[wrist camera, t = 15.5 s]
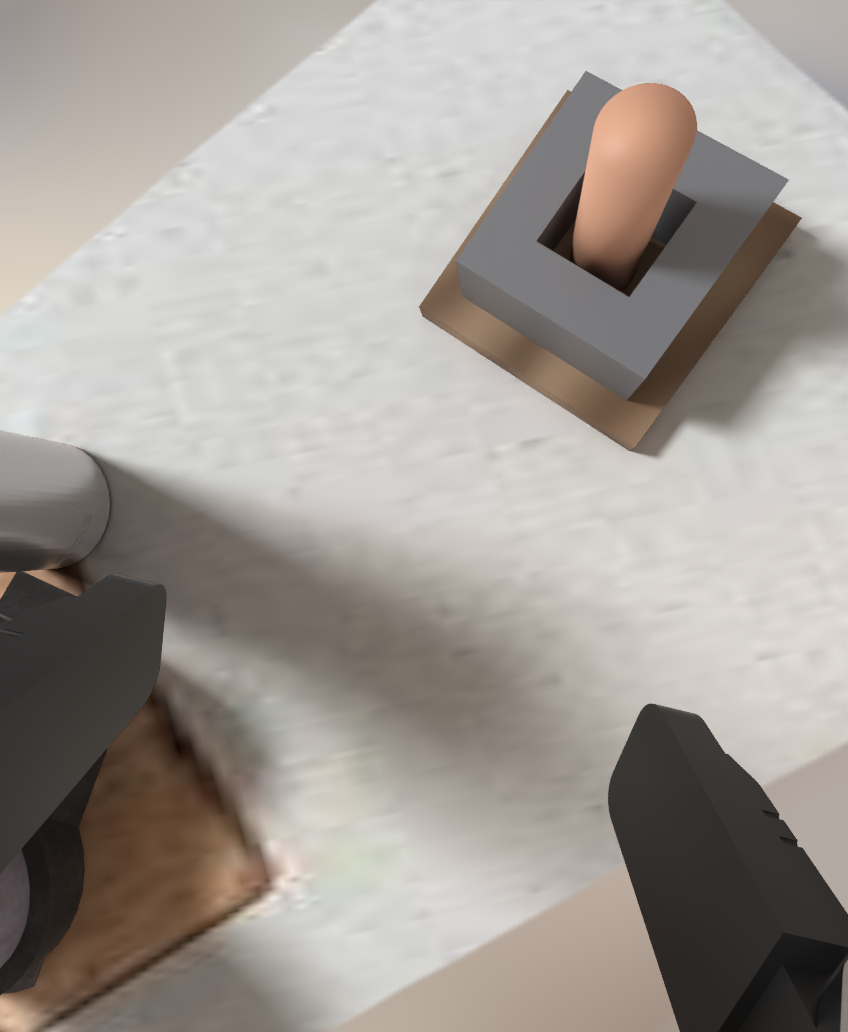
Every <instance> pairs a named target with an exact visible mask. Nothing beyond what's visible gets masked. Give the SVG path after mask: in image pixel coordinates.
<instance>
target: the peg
mask: <svg viewBox="0 0 848 1032" xmlns="http://www.w3.org/2000/svg"><path fill="white" fill-rule="evenodd" d="M696 132H697V121H696V115H695V112H694V110H693V107H692V105H691V104H690V102H689V101H688V100H687V98H686V97H685V96H684V95H682V94H681V93H680V92H679V91H677V90H675V89H674V88H671V87H669V86H666V85H662V84H656V83H646V84H639V85H635V86H632V87H629V88H627V89H625V90H623V91H621V92H619V93H618V94H616V95H615V96H614V97H612V98H611V99H610V100H609V101H608V102H607V103H606V104H605V106H604V107H603V108H602V110H601V111H600V113H599V115H598V117H597V119H596V121H595V125H594V129H593V134H592V139H591V145H590V150H589V155H588V160H587V166H586V171H585V176H584V181H583V186H582V192H581V197H580V202H579V207H578V212H577V218H576V223H575V228H574V233H573V239H572V244H571V249H570V254H569V259H568V261H570V262H572V263H573V264H575V265H577V266H578V267H580V268H582V269H583V270H585V271H587V272H588V273H590V274H591V275H593V276H595V277H596V278H598V279H600V280H601V281H603V282H605V283H606V284H608V285H610V286H611V287H613V288H615V289H616V290H618V291H620V292H621V291H622V290H623V289H625V288H626V287H627V286H628V284H629V283H630V282H631V280H632V278H633V276H634V274H635V272H636V269H637V267H638V265H639V263H640V261H641V258H642V256H643V254H644V252H645V250H646V247H647V245H648V243H649V241H650V239H651V236H652V234H653V232H654V230H655V227H656V225H657V223H658V221H659V219H660V216H661V214H662V212H663V210H664V208H665V205H666V203H667V201H668V199H669V197H670V194H671V192H672V190H673V188H674V186H675V183H676V181H677V179H678V177H679V175H680V172H681V170H682V168H683V166H684V164H685V161H686V159H687V157H688V155H689V152H690V150H691V148H692V146H693V144H694V141H695V137H696Z"/></svg>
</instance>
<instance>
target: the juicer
mask: <svg viewBox="0 0 848 1032" xmlns="http://www.w3.org/2000/svg"><path fill="white" fill-rule="evenodd" d="M65 596H73V597H77V596H74V595H72V594H70V593H68V592H66V591H64V590H61V589H59V588H57V587H55V586H53V585H51V584H48V583H46V582H44V581H42V580H40V579H38V578H35V577H33V576H31V575H29V574H27V573H25V572H22V571H17V572H16V574H15V576H14V577H13V579H12V581H11V582H10V584H9V586H8V587H7V589H6V591H5V592H4V594H3V596H2V598H1V599H0V627H1V626H3V625H4V624H6V623H7V622H9V621H11V620H12V619H14V618H15V617H17V616H18V615H20V614H22V613H23V612H25V611H26V610H28V609H29V608H32V607H35V606H38V605H41V604H44V603H47V602H50V601H53V600H56V599H59V598H62V597H65ZM106 751H107V749H106V750H105V751H104V752H103V754H102V755H101V756H100V757H99V758H98V759H97V761H96V762H95V763H94V764H93V765H92V767H91V768H90V769H89V770H88V771H87V772H86V774H85V775H84V776H83V777H82V778H81V779H80V781H79V782H78V783H77V784H76V785H75V787H74V788H73V789H72V790H71V791H70V792H69V794H68V795H67V796H66V797H65V798H64V799H63V801H62V802H61V803H60V804H59V805H58V807H57V808H56V809H55V810H54V811H53V812H52V814H51V815H50V816H49V817H48V818H47V819H46V821H45V822H44V823H43V824H42V825H41V827H40V828H39V829H38V830H37V831H36V832H35V834H34V835H33V836H32V837H31V838H30V839H29V841H28V842H27V843H26V844H25V845H24V847H23V848H22V849H21V850H20V851H19V852H18V854H17V855H16V856H15V857H14V858H13V859H12V861H11V862H10V863H9V864H8V865H7V867H6V868H5V869H4V870H3V871H2V872H1V874H0V995H1V994H3V993H12V992H18V991H21V990H24V989H27V988H31V987H34V985H35V983H36V980H37V977H38V975H39V972H40V969H41V966H42V964H43V961H44V958H45V956H46V955H47V954H48V953H49V952H50V951H51V950H52V949H53V948H54V947H55V946H56V945H57V944H58V943H59V942H60V941H61V939H62V938H63V936H64V935H65V933H66V932H67V931H68V929H69V928H70V925H71V923H72V921H73V919H74V916H75V914H76V912H77V910H78V906H79V902H80V898H81V894H82V891H83V880H84V854H83V846H82V841H81V837H80V833H79V828H78V827H79V824H80V822H81V819H82V816H83V813H84V811H85V808H86V805H87V803H88V800H89V797H90V794H91V792H92V789H93V786H94V784H95V781H96V778H97V776H98V773H99V770H100V767H101V765H102V762H103V759H104V757H105V754H106Z"/></svg>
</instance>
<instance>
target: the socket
mask: <svg viewBox="0 0 848 1032" xmlns="http://www.w3.org/2000/svg"><path fill="white" fill-rule="evenodd" d="M621 91H623V90H621V89H619V88H617V87H615V86H613V85H611V84H610V83H608V82H606V81H604V80H602V79H600V78H598V77H596V76H595V75H593V74H591V73H589V72H587V71H585V73H584V74H583V76H582V77H581V79H580V80H579V82H578V83H577V85H576V86H575V87H574V89H573V90H572V92H571V93H570V95H569V96H568V98H567V99H566V101H565V102H564V103H563V105H562V106H561V108H560V109H559V111H558V112H557V114H556V115H555V117H554V118H553V120H552V121H551V122H550V124H549V125H548V127H547V128H546V130H545V131H544V133H543V134H542V136H541V137H540V138H539V140H538V141H537V143H536V144H535V146H534V147H533V149H532V150H531V152H530V153H529V155H528V156H527V157H526V159H525V160H524V162H523V163H522V165H521V166H520V168H519V169H518V171H517V172H516V173H515V175H514V176H513V178H512V179H511V181H510V182H509V184H508V185H507V187H506V188H505V190H504V191H503V192H502V194H501V195H500V197H499V198H498V200H497V201H496V203H495V204H494V206H493V207H492V208H491V210H490V211H489V213H488V214H487V216H486V217H485V219H484V220H483V222H482V223H481V225H480V226H479V227H478V229H477V230H476V232H475V233H474V235H473V236H472V238H471V239H470V241H469V242H468V243H467V245H466V246H465V248H464V249H463V251H462V252H461V254H460V255H459V257H458V258H457V260H456V265H457V270H458V275H459V280H460V285H461V290H462V296H463V297H464V298H466V299H467V300H469V301H470V302H472V303H473V304H475V305H477V306H478V307H480V308H481V309H483V310H484V311H486V312H488V313H489V314H491V315H492V316H494V317H495V318H497V319H499V320H500V321H502V322H503V323H505V324H506V325H508V326H510V327H511V328H513V329H514V330H516V331H517V332H519V333H521V334H522V335H524V336H525V337H527V338H528V339H530V340H532V341H533V342H535V343H536V344H538V345H539V346H541V347H543V348H544V349H546V350H547V351H549V352H550V353H552V354H554V355H555V356H557V357H558V358H560V359H561V360H563V361H565V362H566V363H568V364H569V365H571V366H572V367H574V368H576V369H577V370H579V371H580V372H582V373H583V374H585V375H587V376H588V377H590V378H591V379H593V380H594V381H596V382H598V383H599V384H601V385H602V386H604V387H605V388H607V389H609V390H610V391H612V392H613V393H615V394H617V395H618V396H620V397H621V398H623V399H624V400H626V401H627V399H628V398H629V397H630V396H631V395H632V394H633V392H634V391H635V390H636V389H637V388H638V387H639V385H640V384H641V383H642V382H643V381H644V380H645V378H646V377H647V376H648V374H649V373H650V372H651V370H652V369H653V367H654V366H655V365H656V363H657V362H658V360H659V359H660V358H661V356H662V355H663V354H664V352H665V351H666V349H667V348H668V347H669V345H670V344H671V342H672V341H673V340H674V338H675V337H676V336H677V334H678V333H679V331H680V330H681V329H682V327H683V326H684V324H685V323H686V322H687V320H688V319H689V318H690V316H691V315H692V313H693V312H694V311H695V309H696V308H697V306H698V305H699V304H700V302H701V301H702V300H703V298H704V297H705V295H706V294H707V293H708V291H709V290H710V289H711V287H712V286H713V284H714V283H715V282H716V280H717V279H718V277H719V276H720V275H721V273H722V272H723V271H724V269H725V268H726V266H727V265H728V264H729V262H730V261H731V259H732V258H733V257H734V255H735V254H736V253H737V251H738V250H739V248H740V247H741V246H742V244H743V243H744V241H745V240H746V239H747V237H748V236H749V235H750V233H751V232H752V230H753V229H754V228H755V226H756V225H757V223H758V222H759V221H760V219H761V218H762V217H763V215H764V214H765V212H766V211H767V210H768V208H769V207H770V205H771V204H772V203H773V201H774V200H775V199H776V197H777V196H778V194H779V193H780V192H781V190H782V189H783V188H784V186H785V185H786V183H787V182H788V181H789V180H788V179H787V178H785V177H783V176H781V175H779V174H777V173H775V172H774V171H772V170H770V169H768V168H766V167H764V166H762V165H760V164H759V163H757V162H755V161H753V160H751V159H749V158H747V157H746V156H744V155H742V154H740V153H738V152H736V151H734V150H733V149H731V148H729V147H727V146H725V145H723V144H721V143H719V142H718V141H716V140H714V139H712V138H710V137H708V136H706V135H705V134H703V133H701V132H699V131H697V132H696V137H695V141H694V144H693V146H692V148H691V150H690V152H689V155H688V157H687V159H686V161H685V164H684V166H683V168H682V170H681V172H680V175H679V177H678V179H677V181H676V183H675V186H674V188H673V190H672V192H671V194H670V197H669V199H668V201H667V203H666V205H665V208H664V210H663V212H662V214H661V216H660V219H659V221H658V223H657V225H656V227H655V230H654V232H653V234H652V236H651V237H652V238H654V239H656V240H658V241H659V242H661V243H663V244H665V245H666V246H665V248H664V249H663V251H662V252H661V253H660V255H659V256H658V258H657V259H656V261H655V262H654V263H653V265H652V266H651V268H650V269H649V270H648V272H647V273H646V275H645V276H644V277H643V279H642V280H641V282H640V283H639V284H638V286H637V287H636V289H635V290H634V291H633V293H632V294H631V296H630V297H628V296H626V295H625V294H623V293H621V292H620V291H618V290H616V289H615V288H613V287H611V286H610V285H608V284H606V283H605V282H603V281H601V280H600V279H598V278H596V277H595V276H593V275H591V274H590V273H588V272H587V271H585V270H583V269H582V268H580V267H578V266H577V265H575V264H573V263H572V262H570V261H568V260H567V259H565V258H563V257H562V256H560V255H558V254H557V253H555V252H553V251H554V249H555V248H556V246H557V245H558V243H559V242H560V241H561V239H562V238H563V236H564V235H565V233H566V232H567V231H568V229H569V228H570V226H571V225H572V223H573V222H574V221H575V219H576V218H577V212H578V207H579V202H580V197H581V192H582V186H583V181H584V176H585V171H586V166H587V160H588V155H589V150H590V145H591V139H592V134H593V129H594V125H595V121H596V119H597V117H598V115H599V113H600V111H601V110H602V108H603V107H604V106H605V104H606V103H607V102H608V101H609V100H610V99H611V98H612V97H614V96H615V95H616V94H618V93H619V92H621Z"/></svg>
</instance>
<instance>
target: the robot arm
mask: <svg viewBox="0 0 848 1032" xmlns="http://www.w3.org/2000/svg"><path fill="white" fill-rule="evenodd" d="M109 510H110V497H109V489H108V486H107V482H106V479H105V477H104V475H103V473H102V471H101V469H100V467H99V466H98V465H97V464H96V462H95V461H94V460H93V459H92V458H91V457H90V456H89V455H87V454H86V453H85V452H84V451H82V450H80V449H78V448H76V447H73V446H71V445H66V444H62V443H57V442H52V441H47V440H43V439H38V438H33V437H29V436H24V435H20V434H15V433H10V432H5V431H1V430H0V573H1V572H17V571H31V570H44V569H58V568H62V567H67V566H70V565H72V564H74V563H76V562H78V561H80V560H82V559H83V558H84V557H86V556H87V555H88V554H89V553H90V552H91V551H92V550H93V549H94V548H95V546H96V545H97V544H98V543H99V541H100V539H101V537H102V535H103V533H104V531H105V528H106V525H107V522H108V519H109ZM165 609H166V590H165V588H164V586H163V585H161V584H157V583H153V582H149V581H145V580H140V579H136V578H132V577H128V576H124V575H120V574H111V575H109V576H107V577H106V578H104V579H103V580H101V581H100V582H98V583H97V584H96V585H94V586H93V587H91V588H90V589H88V590H87V591H85V592H84V593H82V594H81V595H79V596H78V597H73V596H65V597H62V598H59V599H56V600H53V601H50V602H47V603H44V604H41V605H38V606H35V607H32V608H29V609H28V610H26V611H25V612H23V613H22V614H20V615H18V616H17V617H15V618H14V619H12V620H11V621H9V622H7V623H6V624H4V625H3V626H1V627H0V874H1V872H2V871H3V870H4V869H5V868H6V867H7V865H8V864H9V863H10V862H11V861H12V859H13V858H14V857H15V856H16V855H17V854H18V852H19V851H20V850H21V849H22V848H23V847H24V845H25V844H26V843H27V842H28V841H29V839H30V838H31V837H32V836H33V835H34V834H35V832H36V831H37V830H38V829H39V828H40V827H41V825H42V824H43V823H44V822H45V821H46V819H47V818H48V817H49V816H50V815H51V814H52V812H53V811H54V810H55V809H56V808H57V807H58V805H59V804H60V803H61V802H62V801H63V799H64V798H65V797H66V796H67V795H68V794H69V792H70V791H71V790H72V789H73V788H74V787H75V785H76V784H77V783H78V782H79V781H80V779H81V778H82V777H83V776H84V775H85V774H86V772H87V771H88V770H89V769H90V768H91V767H92V765H93V764H94V763H95V762H96V761H97V759H98V758H99V757H100V756H101V755H102V754H103V752H104V751H105V750H106V749H107V748H108V747H109V745H110V744H111V743H112V742H113V741H114V739H115V738H116V737H117V736H118V735H119V734H120V732H121V731H122V730H123V729H124V728H125V727H126V725H127V724H128V723H129V722H130V721H131V719H132V718H133V717H134V716H135V715H136V714H137V712H138V711H139V710H140V709H141V708H142V706H143V705H144V704H145V702H146V701H147V699H148V698H149V696H150V694H151V692H152V690H153V688H154V685H155V683H156V680H157V677H158V674H159V669H160V662H161V652H162V641H163V631H164V620H165ZM608 805H609V813H610V817H611V820H612V823H613V827H614V830H615V833H616V836H617V839H618V842H619V845H620V848H621V851H622V854H623V857H624V860H625V864H626V867H627V870H628V872H629V876H630V879H631V882H632V885H633V888H634V891H635V894H636V897H637V901H638V904H639V907H640V910H641V913H642V915H643V919H644V922H645V925H646V928H647V931H648V934H649V938H650V941H651V944H652V947H653V950H654V953H655V956H656V959H657V962H658V965H659V968H660V971H661V975H662V978H663V981H664V984H665V987H666V990H667V993H668V996H669V999H670V1002H671V1005H672V1008H673V1012H674V1015H675V1018H676V1021H677V1024H678V1027H679V1030H680V1032H848V914H847V912H846V911H845V910H844V908H843V907H842V905H841V904H840V902H839V901H838V899H837V898H836V896H835V895H834V893H833V892H832V890H831V889H830V888H829V886H828V885H827V883H826V882H825V880H824V879H823V877H822V876H821V875H820V873H819V871H818V870H817V869H816V867H815V866H814V864H813V863H812V861H811V860H810V858H809V857H808V855H807V854H806V852H805V851H804V849H803V848H801V847H798V846H797V839H796V838H795V836H794V835H793V833H792V832H791V830H790V829H789V828H788V826H787V825H786V823H785V822H784V821H783V820H780V819H779V813H778V811H777V810H776V808H775V807H774V805H773V804H772V802H771V801H770V800H769V798H768V797H767V795H766V794H765V792H764V791H763V789H762V788H761V786H760V785H759V783H758V782H757V781H756V780H755V779H754V778H752V777H751V776H750V775H749V774H748V773H747V772H746V771H745V770H744V769H743V768H742V767H741V766H740V765H739V764H738V763H737V762H736V761H735V760H734V759H733V758H731V757H730V756H729V755H728V754H725V753H724V751H723V750H722V748H721V746H720V745H719V743H718V742H717V740H716V739H715V737H714V736H713V734H712V733H711V731H710V730H709V728H708V726H707V725H706V723H705V722H704V720H703V719H702V718H701V717H700V716H699V715H697V714H693V713H689V712H685V711H681V710H677V709H673V708H668V707H664V706H660V705H656V704H648V705H646V706H645V707H644V708H643V709H642V710H641V712H640V714H639V715H638V718H637V720H636V722H635V724H634V727H633V729H632V731H631V733H630V736H629V738H628V740H627V742H626V745H625V747H624V749H623V751H622V753H621V756H620V758H619V760H618V762H617V765H616V767H615V769H614V771H613V774H612V776H611V780H610V785H609V792H608Z"/></svg>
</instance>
